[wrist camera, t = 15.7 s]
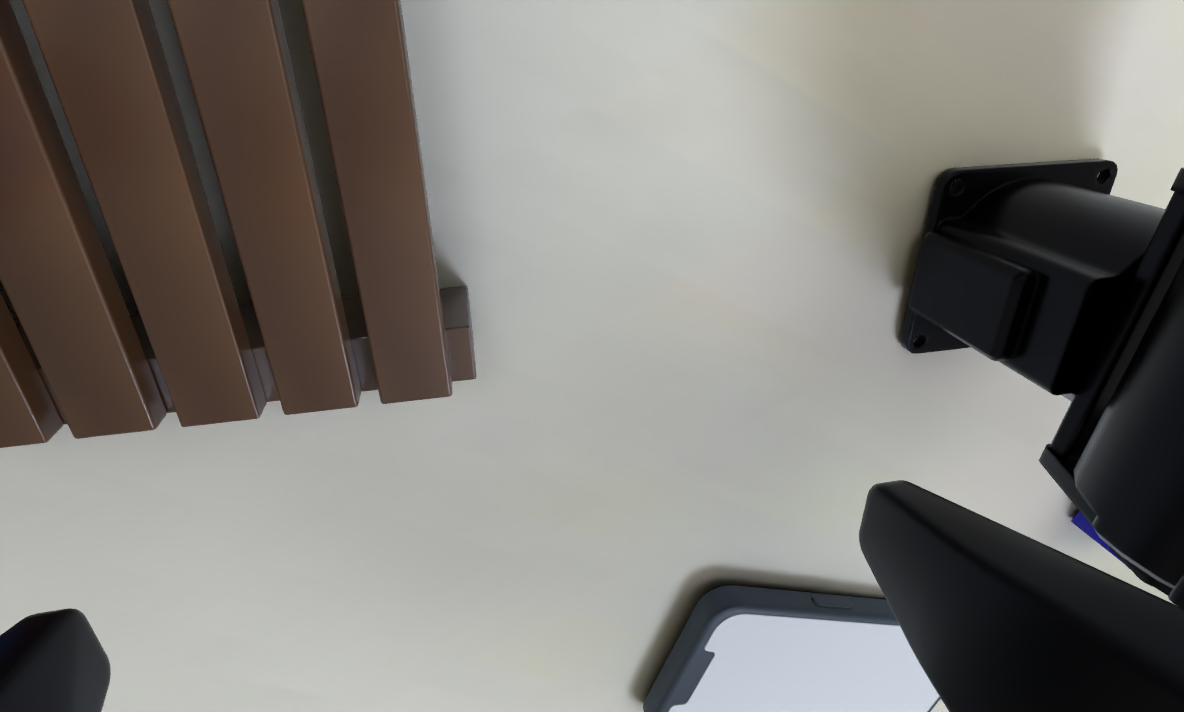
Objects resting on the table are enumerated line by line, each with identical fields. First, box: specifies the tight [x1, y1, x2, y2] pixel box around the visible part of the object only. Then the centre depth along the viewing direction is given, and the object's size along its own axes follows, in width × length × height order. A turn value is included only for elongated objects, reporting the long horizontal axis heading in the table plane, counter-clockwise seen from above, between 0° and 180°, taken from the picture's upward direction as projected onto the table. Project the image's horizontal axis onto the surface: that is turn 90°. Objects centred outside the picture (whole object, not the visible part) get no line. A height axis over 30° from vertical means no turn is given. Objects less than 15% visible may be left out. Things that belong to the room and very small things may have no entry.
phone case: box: [643, 585, 941, 712], centre depth 31 cm, size 9×2×16 cm
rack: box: [0, 0, 476, 448], centre depth 13 cm, size 17×14×6 cm
